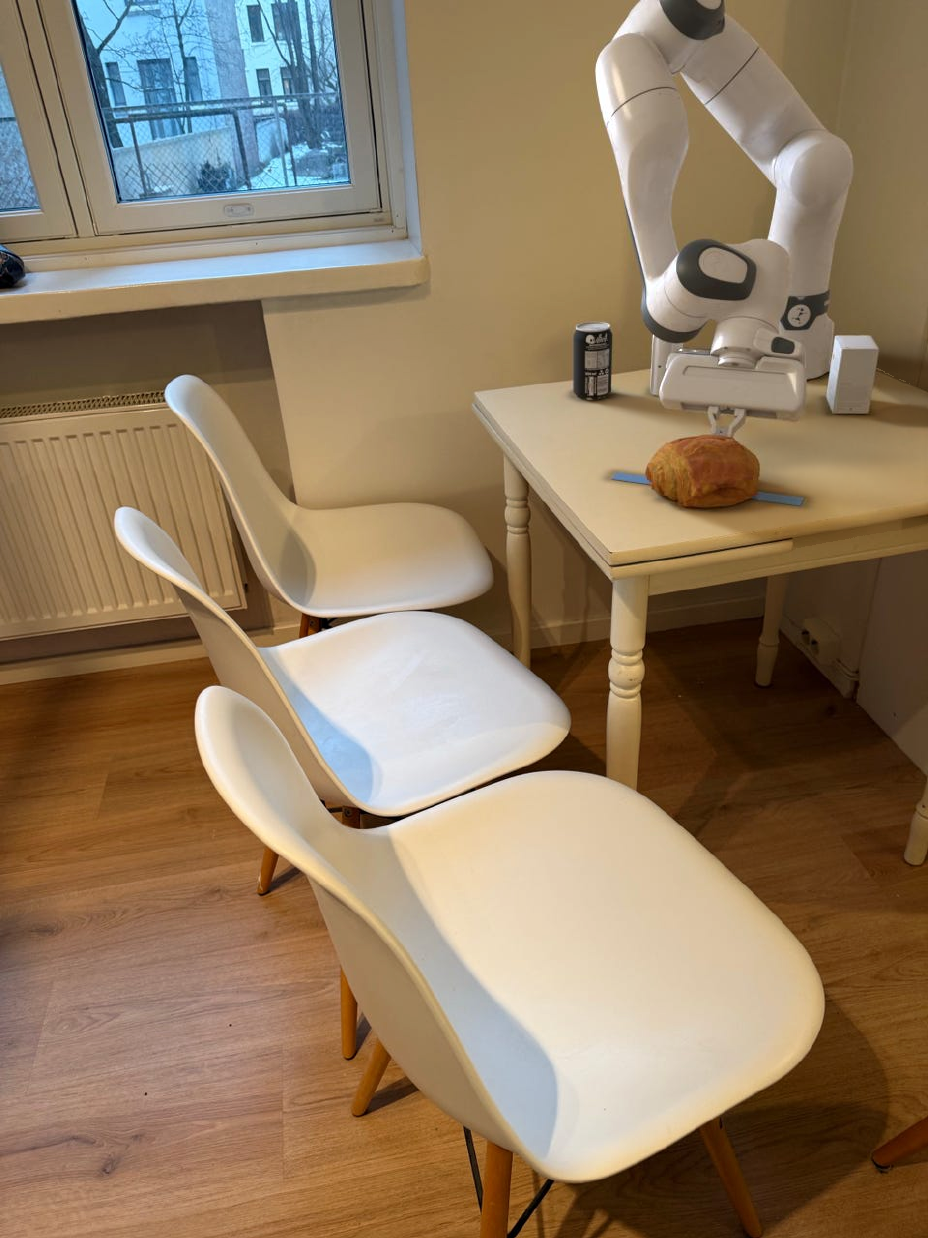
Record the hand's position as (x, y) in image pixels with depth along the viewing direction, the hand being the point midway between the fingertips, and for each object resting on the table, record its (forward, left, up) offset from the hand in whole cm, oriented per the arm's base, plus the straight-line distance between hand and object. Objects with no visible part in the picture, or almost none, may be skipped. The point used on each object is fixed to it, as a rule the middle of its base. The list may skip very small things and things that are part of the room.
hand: (720, 440), depth 132 cm
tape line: (+7, -3, -4) cm, 8 cm away
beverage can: (-34, -17, -5) cm, 38 cm away
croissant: (+7, -3, -5) cm, 9 cm away
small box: (-25, +24, -5) cm, 35 cm away
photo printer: (-37, -4, -5) cm, 38 cm away
